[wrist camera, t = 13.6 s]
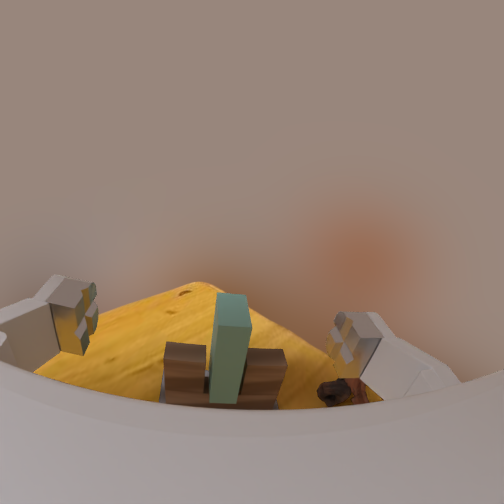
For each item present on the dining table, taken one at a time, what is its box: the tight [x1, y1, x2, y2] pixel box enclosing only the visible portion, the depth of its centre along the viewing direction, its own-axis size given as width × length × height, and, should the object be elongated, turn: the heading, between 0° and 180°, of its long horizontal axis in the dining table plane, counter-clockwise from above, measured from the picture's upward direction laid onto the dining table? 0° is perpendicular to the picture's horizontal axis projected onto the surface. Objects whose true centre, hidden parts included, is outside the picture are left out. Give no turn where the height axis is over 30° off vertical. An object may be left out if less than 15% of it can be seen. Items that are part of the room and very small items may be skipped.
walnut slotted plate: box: [159, 342, 288, 410], centre depth 34 cm, size 12×16×10 cm
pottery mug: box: [317, 378, 369, 407], centre depth 36 cm, size 12×10×8 cm
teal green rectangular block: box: [209, 293, 252, 404], centre depth 32 cm, size 6×3×12 cm, turn 7°
